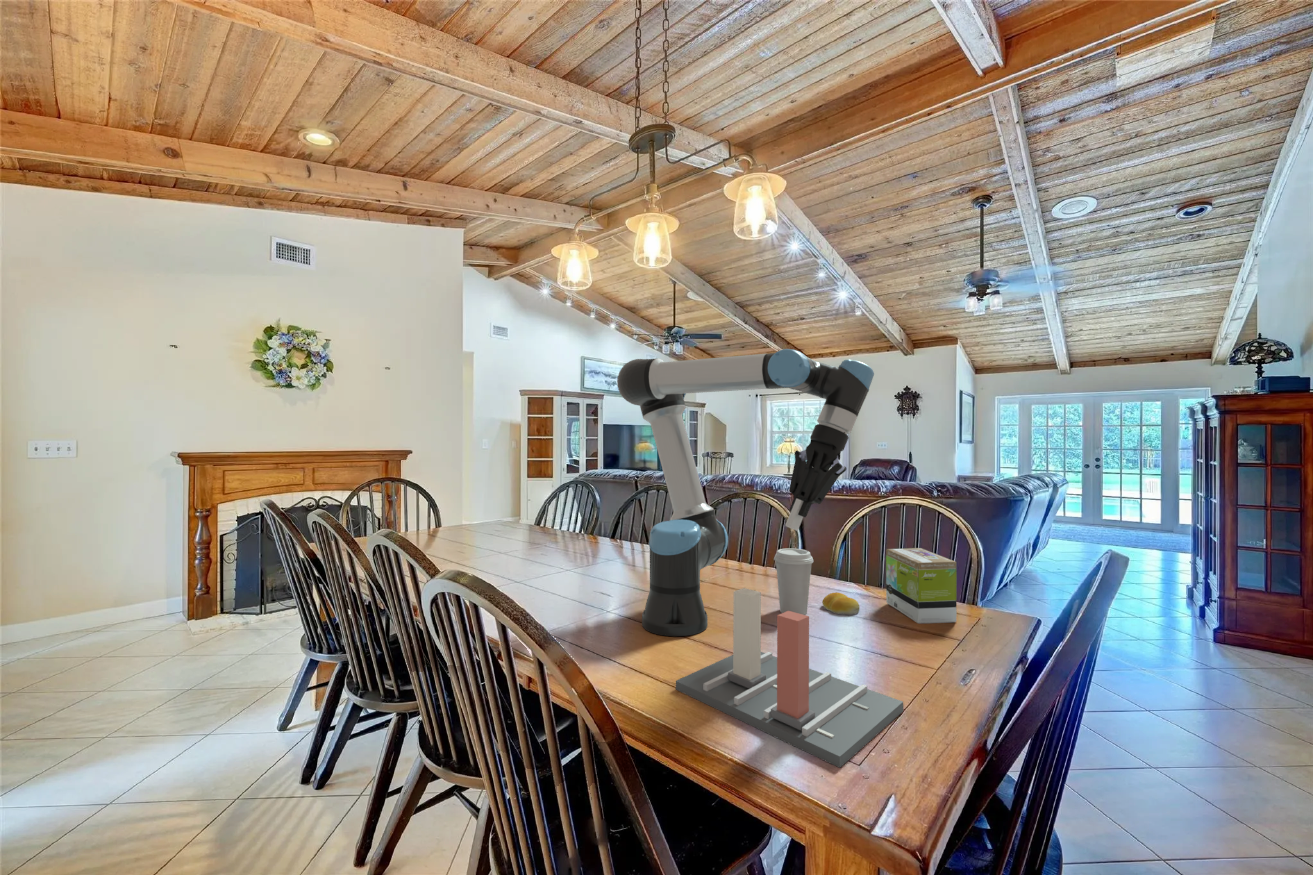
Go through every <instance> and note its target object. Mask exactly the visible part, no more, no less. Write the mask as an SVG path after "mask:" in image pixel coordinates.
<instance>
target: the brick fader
mask: <svg viewBox="0 0 1313 875" xmlns="http://www.w3.org/2000/svg"><path fill="white" fill-rule="evenodd" d="M776 618H777V621H776V626H777V628H776V629H777V630H776V633H777V634H776V637H777V638H776V642H777V643H776V647H777V649H776V657H777V705H776V706H775V707H773V708H771V717H772V718H774V719H776V720H779V721H781V722H783V723H785V724H787V725H790V726H792V727H794V728H796V729H799V730H802V727H803V726H805V725H806V724H808V723H809V722H810V721H812V720H813V719H815V712H814V711H812V710H809V669H810V616H809V615H807V614H806V615H802V614H799V613H795V612H791V611H786V612H784V613H779V614H777V615H776Z"/></svg>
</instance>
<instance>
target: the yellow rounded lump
mask: <svg viewBox="0 0 1313 875" xmlns="http://www.w3.org/2000/svg"><path fill="white" fill-rule="evenodd" d="M821 601H822V602H821V603H822V606H823V608H824V609H825V610H826V611H827V610H828V611H830V612H831V613H834V614H835V615H845V616H847V615H848V616H849V615H850V616H851V615H856V614H858V613H859V612H860V604H859V602H858V600H856V599H855V598H852V597H848V596H847V595H846V594H844V593H842V592H830V593H828V594H827V595H826V596H825V597H823V599H822V600H821Z"/></svg>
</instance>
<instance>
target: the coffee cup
mask: <svg viewBox="0 0 1313 875" xmlns="http://www.w3.org/2000/svg"><path fill="white" fill-rule="evenodd" d="M773 561H775V565H776V577H777V578H776V579H777V589H778V603H779V611H780V614H782V613H784V612H786V611H791V612H795V613H799V614H802V615H806V616H807V614H808V605H809V595H810V594H809V593H810V584H811V573H812V564H813V563H814V559H813V556H812V555H811V552H810V551H809V550H807V549H801V548H781V549H778V550H777V551H776V553H775V555H774V558H773Z"/></svg>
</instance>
